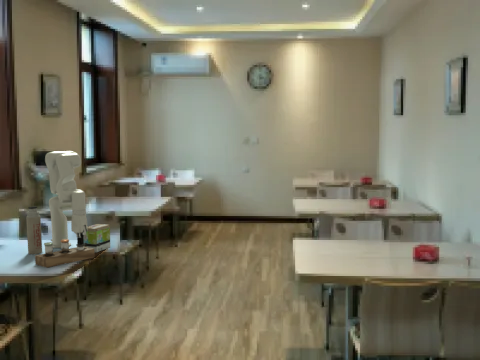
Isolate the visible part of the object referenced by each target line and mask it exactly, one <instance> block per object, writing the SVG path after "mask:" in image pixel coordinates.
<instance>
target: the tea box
mask: <svg viewBox="0 0 480 360" xmlns="http://www.w3.org/2000/svg"><path fill="white" fill-rule="evenodd" d="M87 226H88V225H87ZM84 244H85V246H84V247H89V248H93V249H94V253H98V252H100V251H101V252H102V251H104V250H106V249H110V248H111V224H101V223H96V224H93V225H92V224H91V225H89V226H88V230H87V232H86V235H84Z"/></svg>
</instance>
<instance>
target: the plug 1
mask: <svg viewBox="0 0 480 360" xmlns="http://www.w3.org/2000/svg"><path fill="white" fill-rule="evenodd" d="M43 245H44V254H45V257H50V256H53V252H54V251H53V250H54V248H53V243H52V241H50V242H44V243H43Z"/></svg>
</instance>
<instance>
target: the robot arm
mask: <svg viewBox="0 0 480 360" xmlns="http://www.w3.org/2000/svg"><path fill="white" fill-rule="evenodd" d="M44 162H45V165H46V168H47V170H48V174H49V175H48V177H49V188H50V192H51V194H53V195H57V196H52V197H51V198H50V199H49V200H48V207H49V211H50V220H51V221H50V222H51V223H50V224H51V239H50V242H52V243H53V249H57V248H58V249H59V248H60V249H61V241H60V240H63V239H69V235H68V234H69V233H68V232H69V231H68V218H67V216H66V214H65V213H64V212H66V211H71V214H72V215H71V221H70V223H71V224H70V226H71V232H73V234H75V236H76V241H77V244H78V245H81V244H84V235H86V232H87V230H88V219H87V208H86V206H87V205H86V192H85V190H82V189H78V186H77V182H76V180H75V177H76V172H75V170H74V168H79V167H81V166H82V165H81V164H82V159H81V156H80V154H78V153H77V152H75V151H72V150H66V151H65V150H64V151H59V150H57V151H50V152H47V153H46V154H45V158H44ZM70 246H72V243H71V242H69V247H70Z"/></svg>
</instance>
